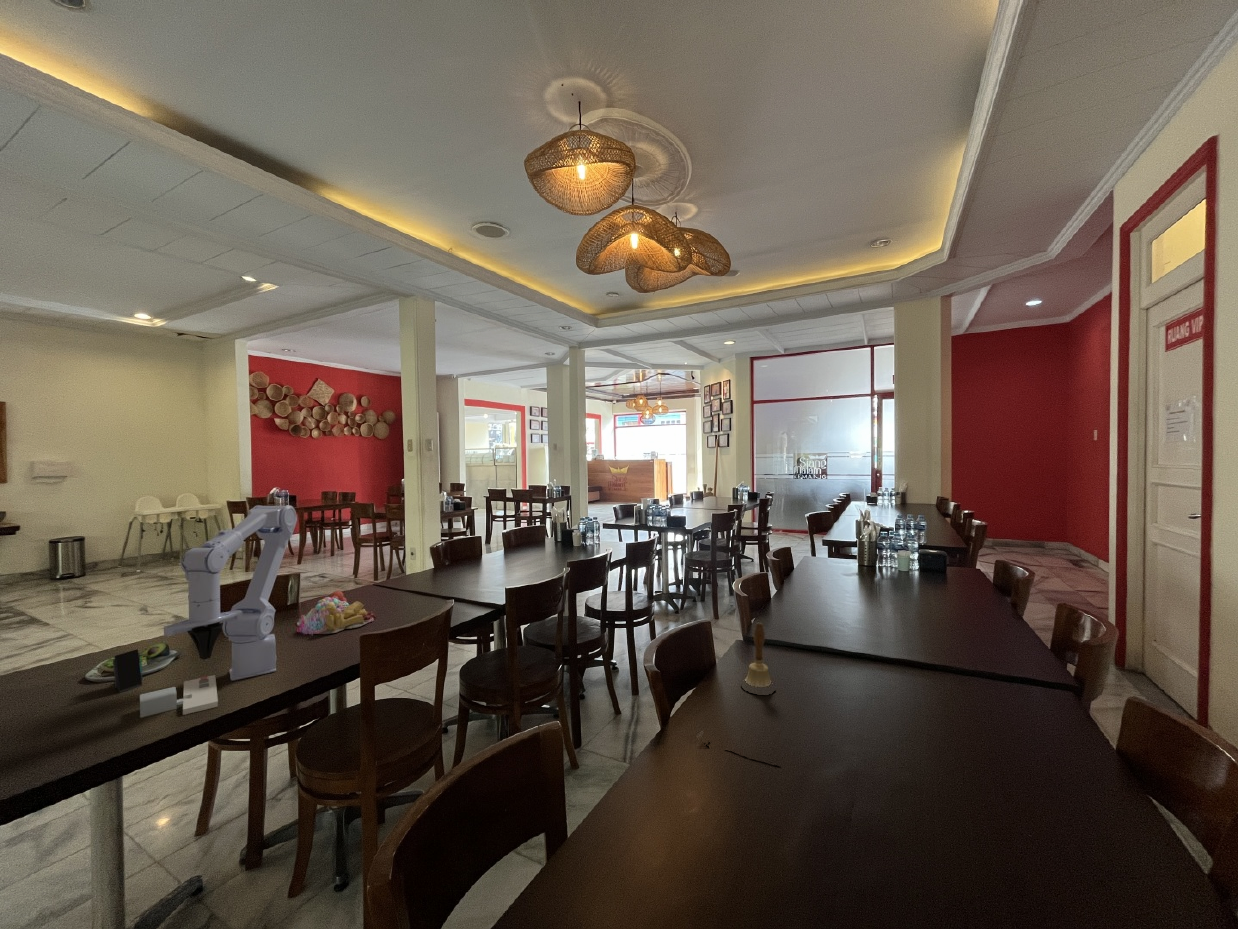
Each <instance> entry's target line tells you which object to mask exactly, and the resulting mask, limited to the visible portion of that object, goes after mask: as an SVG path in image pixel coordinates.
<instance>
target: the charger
mask: <svg viewBox="0 0 1238 929" xmlns="http://www.w3.org/2000/svg"><path fill="white" fill-rule="evenodd" d="M177 696H178V695H177V689H176V686H172V687H168V688H163V689H160V690H154V691H150V692H145V693H141V694H139V714H140V715H139V718H146V717H149V716H154V715H157V714H161V713H165V712H168V711H169V712H170V711H173V710H177V709H178V706H181V705H183V700H184V699H188V698H179V699H178V698H177Z"/></svg>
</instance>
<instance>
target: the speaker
mask: <svg viewBox="0 0 1238 929" xmlns="http://www.w3.org/2000/svg"><path fill="white" fill-rule="evenodd" d="M140 654H141V652H139V649H137V648H136V649H134V650H130V651H126V652H123V653H119V654H116V655H114V656H113V657H114V658H115V659H113V668H114V672H113V676H114V678H115V681H114V685H115V689H117V693H118V694H120V693H123V692H126V691H129V690H132V689H135V688H138V687H140V686H142V685H143V684H142V682H143V675H142V664H141V662H140Z"/></svg>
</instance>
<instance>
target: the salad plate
mask: <svg viewBox="0 0 1238 929" xmlns="http://www.w3.org/2000/svg"><path fill="white" fill-rule="evenodd" d="M184 653H186V650H180V651H177V650H174V649H173V650H171V649H170V646H169V644H168V643H166V642H160V643H159V642H156V643H153V644H151V645H150V646H148V647H146V648H145V649H144V650H143V651H141V652H140V662H141V664H142V676H145V675H149V674H152V673H155V672H159V671H160V670H163V669H165V668H166V667H167V666H168V665H169V664H170V663H172V662H173V661H175V659H176V658H178V657H180V656H181V655H182V654H184ZM113 659H115V658H114V656H113V657H111V658H108V659H105V660H104V661H101V662H100V663H98V664H97V665H96V666H95V667H93V668H92V669H91V670H89V671H88V672H86V674H85V675H84V678H85V679H86V680H88V681H91V682H95V683H108V681H109V682H115V678H114V675H113V676H106V677H102V676H101V675H102V674H101V672H103V671H104V672H106V673H114V668H113ZM104 672H103V673H104ZM99 675H100V676H101V677H100V676H99Z"/></svg>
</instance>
